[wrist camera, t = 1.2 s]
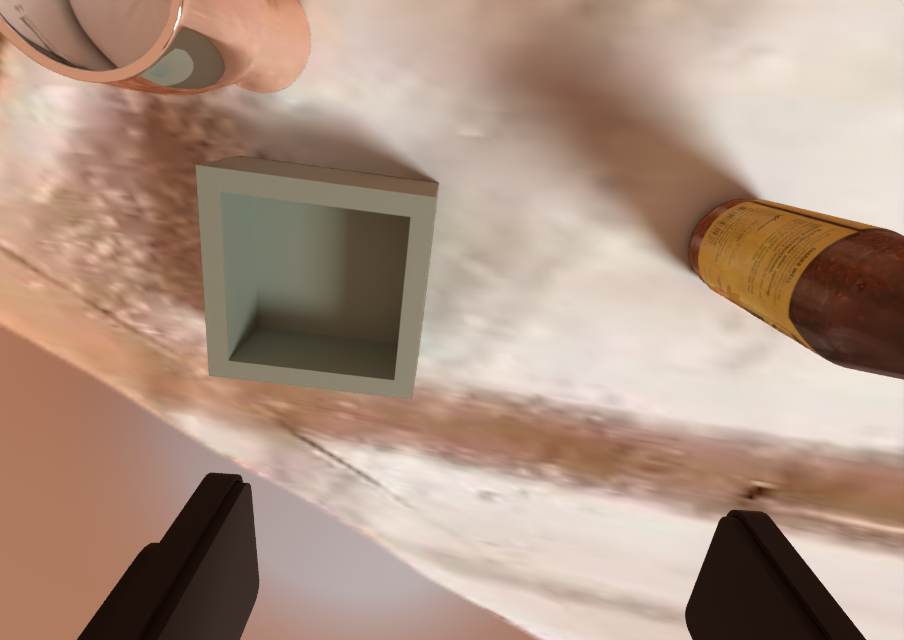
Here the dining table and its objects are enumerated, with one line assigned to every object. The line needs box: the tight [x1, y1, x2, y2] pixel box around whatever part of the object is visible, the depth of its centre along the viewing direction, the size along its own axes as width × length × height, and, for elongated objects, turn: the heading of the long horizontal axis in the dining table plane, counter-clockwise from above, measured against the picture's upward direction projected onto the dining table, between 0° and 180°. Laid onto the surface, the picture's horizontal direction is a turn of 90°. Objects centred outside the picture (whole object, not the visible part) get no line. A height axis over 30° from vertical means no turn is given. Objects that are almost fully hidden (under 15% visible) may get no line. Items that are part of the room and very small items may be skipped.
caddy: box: [195, 156, 439, 399], centre depth 31 cm, size 12×12×6 cm
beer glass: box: [0, 0, 311, 95], centre depth 21 cm, size 7×7×15 cm
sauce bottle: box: [689, 199, 904, 379], centre depth 23 cm, size 6×6×20 cm
